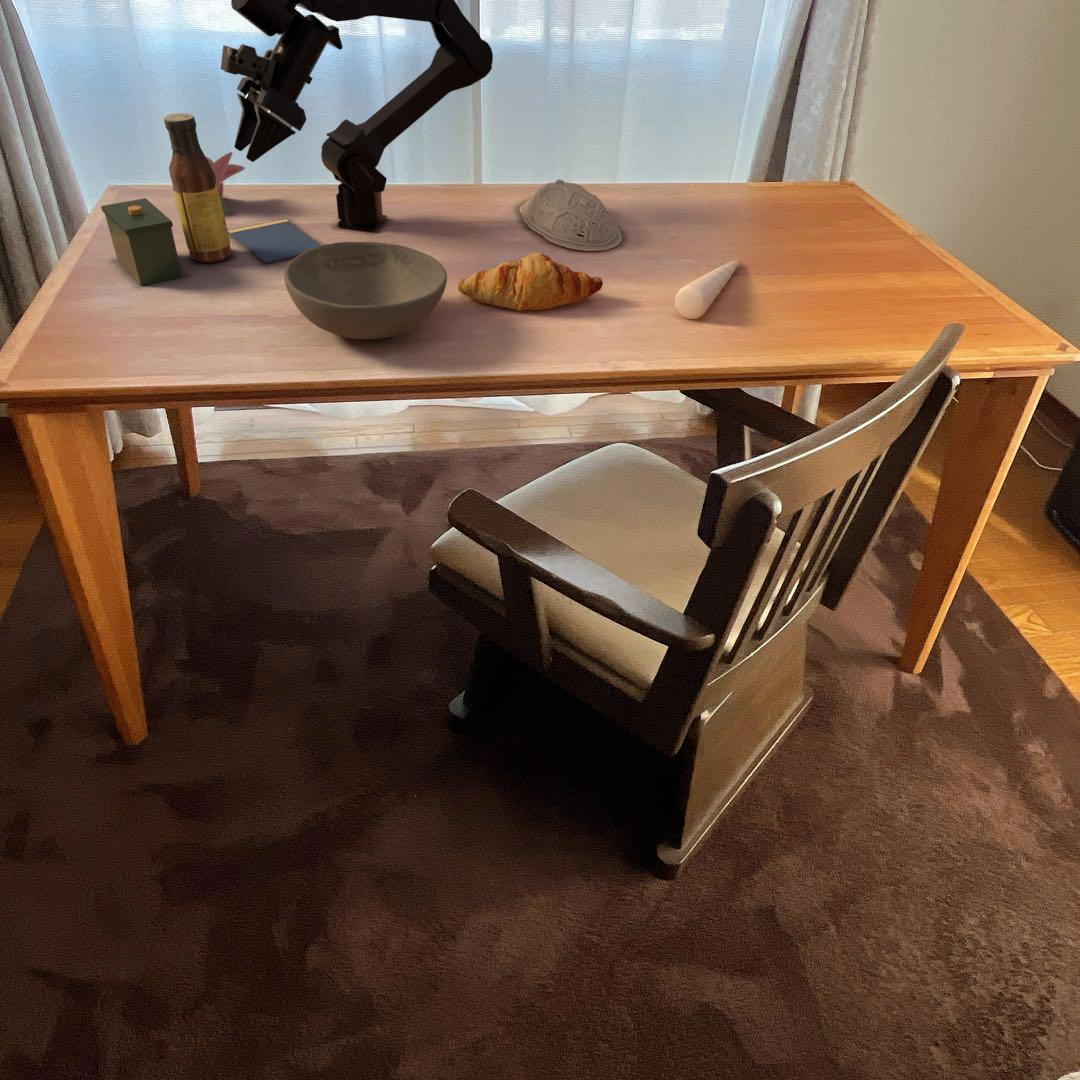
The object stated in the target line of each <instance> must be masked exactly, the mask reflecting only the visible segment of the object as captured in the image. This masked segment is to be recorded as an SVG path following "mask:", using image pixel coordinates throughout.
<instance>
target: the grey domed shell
mask: <svg viewBox="0 0 1080 1080" xmlns="http://www.w3.org/2000/svg"><path fill="white" fill-rule="evenodd" d="M519 212H520V213H521V215H522V218H523V221H524V223H526V224H527V226H528V228H529V229H531V230H532V231H533V232H535V233H537V234H539V235H540V236H543V237H544V238H545V239H546V240H547V241H549V242H551V243H553V244H555V245H557V246H560V247H561V246H562V247H564V248H568V249H569V250H570V249H571V250H577V251H584V252H585V251H586V252H596V251H597V252H598V251H600V252H603V251H607V250H611V249H613V248H615V247H617V246H618V245H619V244H620V243H621V242H622V240H623V237H622V233H621V230H620V229H619V228H618V226H617V223H616V220H615V218H614V216H612V214H611V213H610V212H609V210H608V208H607V207H606V205H605V204H604V203H603V201H602V200H601V199H600V198H599V197H598V196H597V195H596V194H592V193H591V192H590V191H588V190H587V189H585V187H583V186H582V185H580V184H577V183H574V182H569V181H568V182H565V181H564V180H563V179H559V178H558V179H557V180H555V182H553V181H552V182H547V183H545V184H542V186H541V187H539V188H538V189H536V191H534V193H533V195H532V196H531V197H530V198H529V199H527V201H525V202H524V203H523V204H522V205H521V206H520V207H519ZM580 235H581V236H580Z"/></svg>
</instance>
